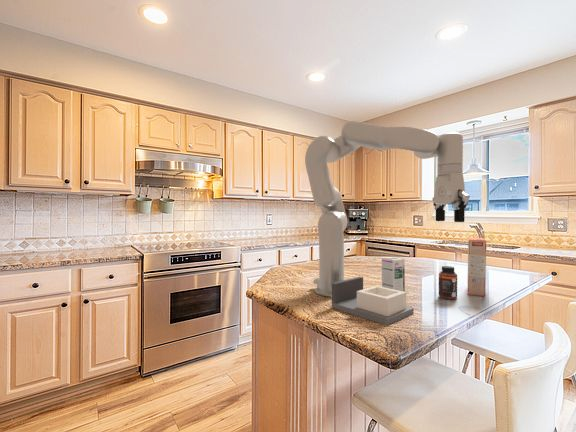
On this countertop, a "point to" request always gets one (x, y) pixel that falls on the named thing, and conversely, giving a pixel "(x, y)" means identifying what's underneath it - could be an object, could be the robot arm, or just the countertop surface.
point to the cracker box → (476, 266)
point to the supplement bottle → (448, 283)
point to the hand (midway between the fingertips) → (449, 221)
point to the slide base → (347, 302)
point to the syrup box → (393, 273)
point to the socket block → (381, 300)
